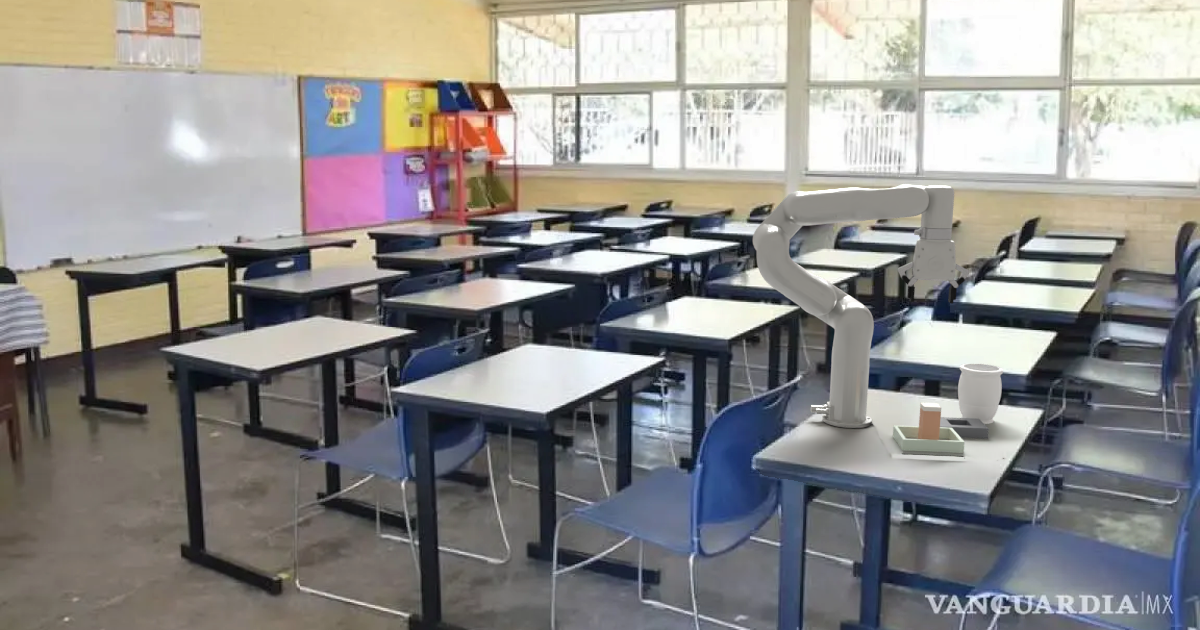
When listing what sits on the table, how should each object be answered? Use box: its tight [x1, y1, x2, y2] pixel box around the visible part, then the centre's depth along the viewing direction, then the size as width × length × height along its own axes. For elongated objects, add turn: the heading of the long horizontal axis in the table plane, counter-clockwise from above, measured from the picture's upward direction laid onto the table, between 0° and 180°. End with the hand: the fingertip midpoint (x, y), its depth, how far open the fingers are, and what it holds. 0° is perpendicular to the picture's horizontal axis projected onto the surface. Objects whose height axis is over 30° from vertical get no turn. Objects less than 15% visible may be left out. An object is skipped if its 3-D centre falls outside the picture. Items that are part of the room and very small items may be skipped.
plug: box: [917, 402, 942, 440], centre depth 247 cm, size 4×4×10 cm
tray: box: [892, 425, 965, 458], centre depth 247 cm, size 14×12×4 cm
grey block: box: [940, 416, 990, 439], centre depth 258 cm, size 12×9×4 cm
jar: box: [957, 363, 1004, 425], centre depth 269 cm, size 11×10×15 cm
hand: (931, 301), depth 263 cm, fingers open, 9 cm apart
